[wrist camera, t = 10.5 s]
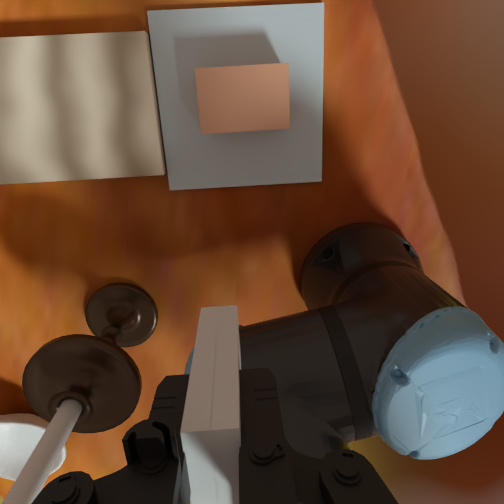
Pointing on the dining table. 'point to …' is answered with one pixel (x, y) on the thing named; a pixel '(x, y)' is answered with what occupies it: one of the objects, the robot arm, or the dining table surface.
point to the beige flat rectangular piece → (78, 108)
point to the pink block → (243, 98)
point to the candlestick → (85, 379)
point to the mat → (237, 54)
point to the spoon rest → (21, 442)
